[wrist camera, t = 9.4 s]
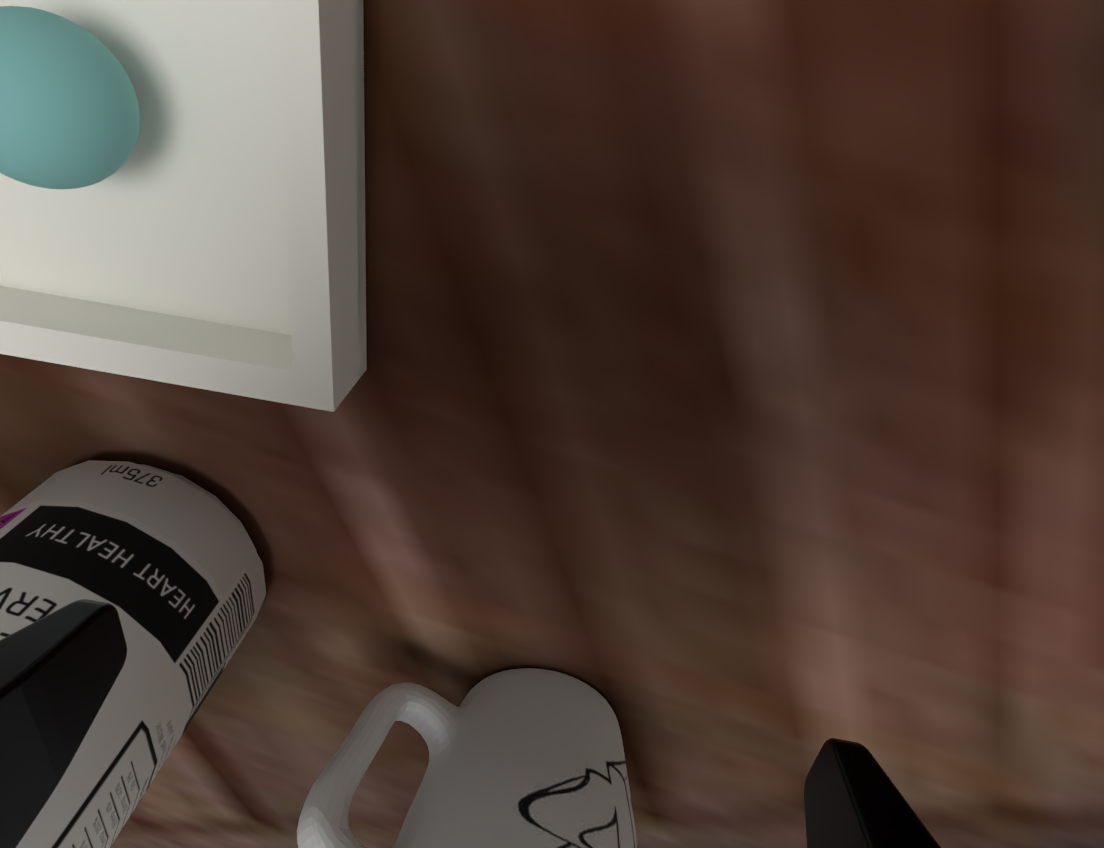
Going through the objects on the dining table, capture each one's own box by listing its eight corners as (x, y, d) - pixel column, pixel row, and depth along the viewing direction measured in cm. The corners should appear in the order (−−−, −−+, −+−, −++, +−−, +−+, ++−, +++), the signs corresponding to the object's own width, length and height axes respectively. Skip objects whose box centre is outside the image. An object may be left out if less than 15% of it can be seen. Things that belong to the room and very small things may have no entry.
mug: (332, 686, 28) (194, 982, 20) (435, 565, 24) (319, 870, 16) (565, 809, 31) (532, 1121, 22) (694, 717, 27) (715, 1054, 18)
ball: (155, 16, 16) (61, 23, 13) (178, 178, 18) (101, 218, 15) (-10, -8, 16) (-146, -7, 13) (30, 160, 18) (-79, 195, 15)
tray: (361, -219, 14) (308, -260, 12) (366, 369, 21) (333, 412, 18) (-267, -309, 14) (-427, -363, 12) (-60, 296, 21) (-141, 329, 19)
